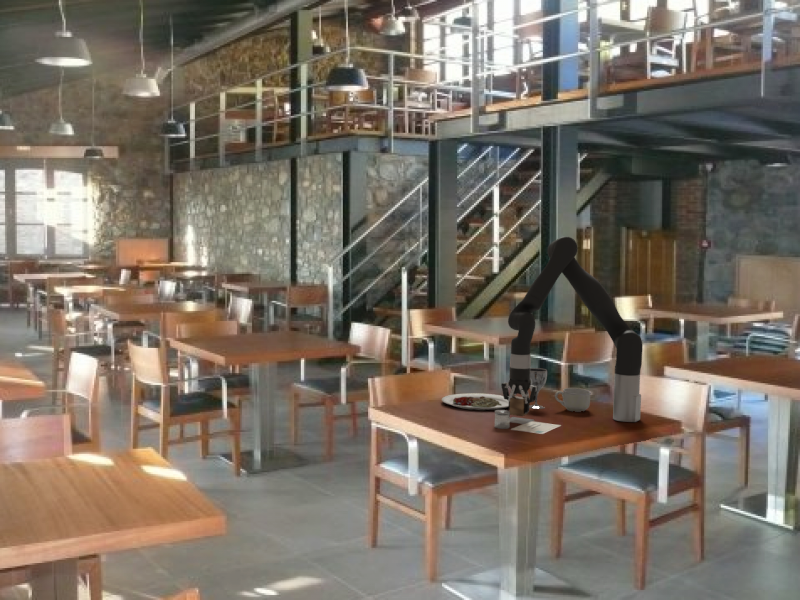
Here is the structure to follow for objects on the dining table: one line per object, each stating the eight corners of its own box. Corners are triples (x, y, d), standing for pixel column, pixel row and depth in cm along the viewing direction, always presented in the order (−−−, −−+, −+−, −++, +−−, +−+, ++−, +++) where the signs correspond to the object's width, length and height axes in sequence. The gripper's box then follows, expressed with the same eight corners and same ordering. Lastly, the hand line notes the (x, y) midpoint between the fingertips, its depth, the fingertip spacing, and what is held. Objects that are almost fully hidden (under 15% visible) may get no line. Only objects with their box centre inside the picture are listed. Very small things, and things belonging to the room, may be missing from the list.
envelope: (561, 426, 325) (561, 425, 325) (542, 435, 311) (542, 433, 311) (530, 422, 331) (530, 421, 331) (510, 430, 317) (510, 429, 317)
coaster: (535, 420, 334) (535, 419, 334) (524, 425, 326) (525, 424, 326) (512, 417, 338) (512, 416, 338) (502, 422, 331) (502, 420, 331)
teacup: (588, 408, 360) (589, 388, 359) (591, 413, 349) (592, 393, 348) (553, 407, 361) (553, 387, 360) (555, 412, 350) (555, 391, 350)
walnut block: (527, 414, 333) (528, 397, 332) (522, 416, 329) (522, 399, 328) (515, 412, 336) (515, 396, 335) (509, 414, 331) (510, 398, 331)
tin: (512, 428, 321) (512, 411, 321) (505, 430, 317) (506, 413, 316) (498, 426, 324) (498, 409, 324) (491, 428, 320) (492, 411, 319)
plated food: (532, 408, 359) (532, 400, 358) (469, 414, 344) (469, 406, 344) (488, 395, 385) (488, 387, 384) (427, 401, 370) (427, 393, 370)
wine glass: (547, 409, 356) (548, 371, 355) (526, 408, 356) (528, 370, 355) (544, 405, 364) (545, 368, 363) (524, 405, 364) (525, 367, 363)
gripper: (542, 366, 330) (541, 413, 331) (506, 363, 338) (505, 408, 339) (534, 369, 324) (532, 416, 325) (497, 365, 331) (496, 411, 333)
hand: (518, 412), depth 332 cm, fingers closed on walnut block, 5 cm apart
